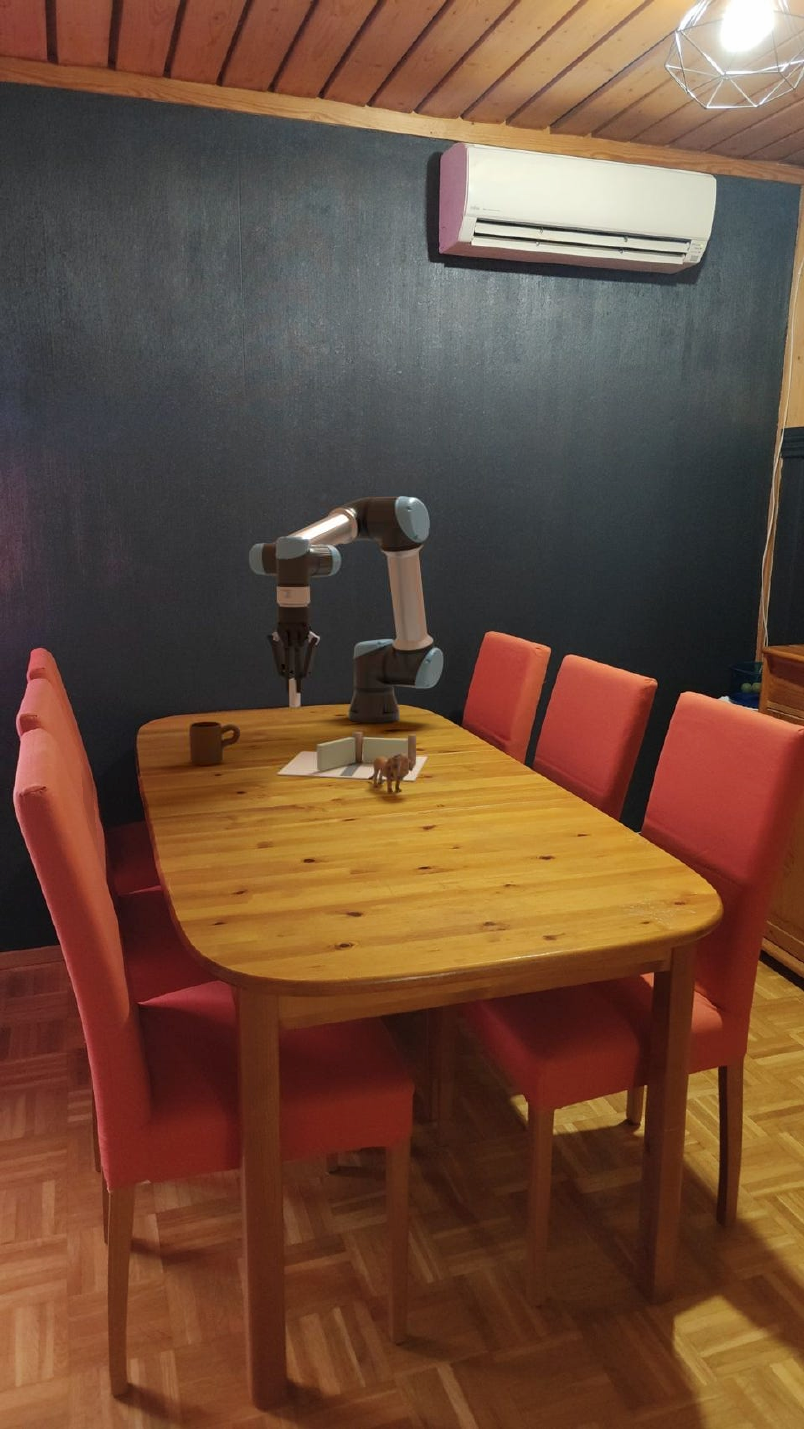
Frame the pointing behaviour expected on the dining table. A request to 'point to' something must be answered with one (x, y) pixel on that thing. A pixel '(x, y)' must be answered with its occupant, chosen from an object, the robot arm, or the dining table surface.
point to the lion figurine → (392, 770)
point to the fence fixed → (383, 747)
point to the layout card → (340, 768)
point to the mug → (209, 742)
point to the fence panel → (335, 753)
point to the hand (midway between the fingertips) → (294, 706)
